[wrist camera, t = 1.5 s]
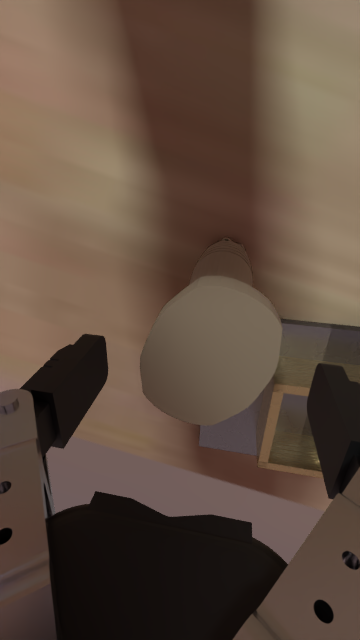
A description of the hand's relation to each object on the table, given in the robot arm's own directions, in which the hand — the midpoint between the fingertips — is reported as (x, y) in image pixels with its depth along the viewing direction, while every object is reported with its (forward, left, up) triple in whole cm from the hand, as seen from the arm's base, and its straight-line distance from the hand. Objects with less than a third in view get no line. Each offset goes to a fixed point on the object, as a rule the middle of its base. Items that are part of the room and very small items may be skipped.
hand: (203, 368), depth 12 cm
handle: (0, 0, -15) cm, 15 cm away
